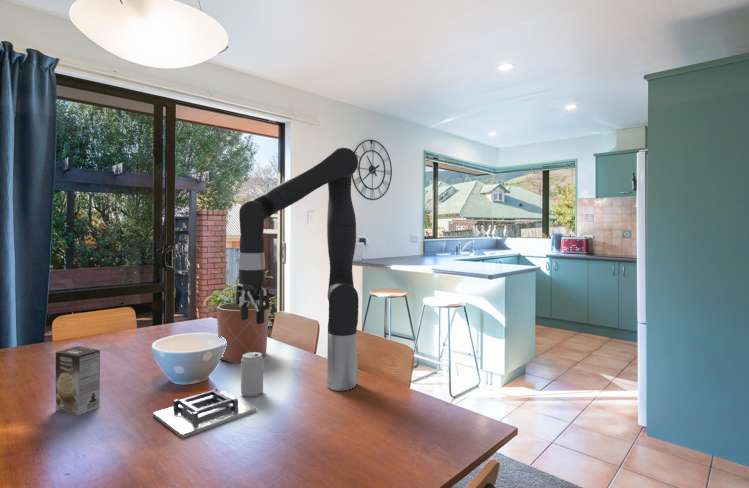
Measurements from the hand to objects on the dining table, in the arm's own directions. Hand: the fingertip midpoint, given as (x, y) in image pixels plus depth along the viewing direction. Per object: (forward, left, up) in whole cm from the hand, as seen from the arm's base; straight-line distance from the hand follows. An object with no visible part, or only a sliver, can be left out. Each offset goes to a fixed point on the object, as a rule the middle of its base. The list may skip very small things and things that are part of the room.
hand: (251, 321), depth 124 cm
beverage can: (0, 0, -22) cm, 22 cm away
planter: (-18, -35, -22) cm, 45 cm away
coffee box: (+38, -25, -22) cm, 50 cm away
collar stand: (+16, +3, -22) cm, 27 cm away
